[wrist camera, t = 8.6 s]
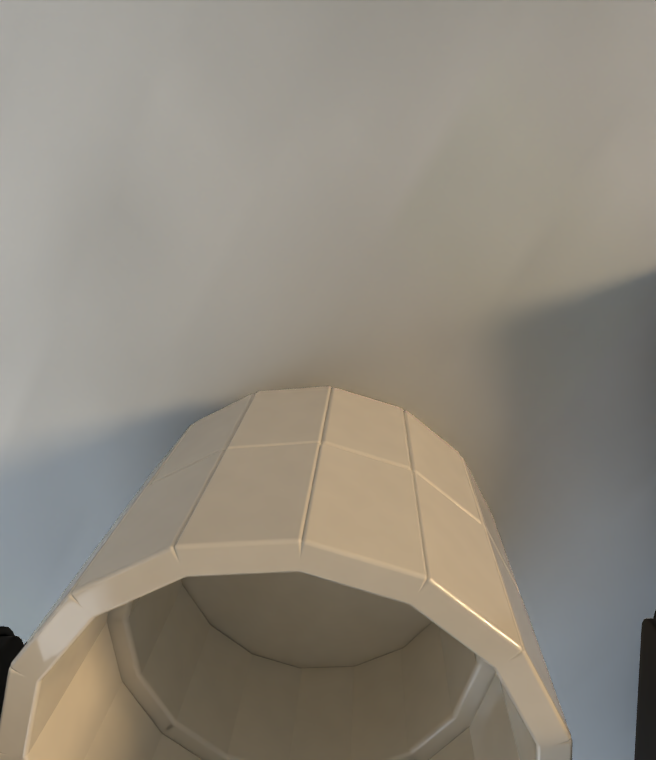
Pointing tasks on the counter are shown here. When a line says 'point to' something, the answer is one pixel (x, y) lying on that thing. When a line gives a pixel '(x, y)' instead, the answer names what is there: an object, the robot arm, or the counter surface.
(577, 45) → the counter surface
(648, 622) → the robot arm
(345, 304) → the counter surface
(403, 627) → the cream cup
